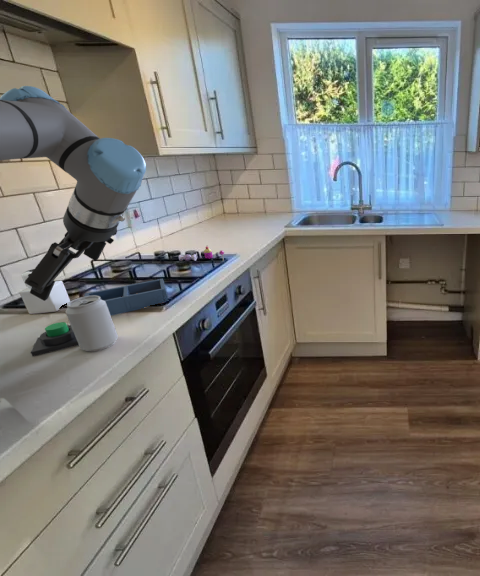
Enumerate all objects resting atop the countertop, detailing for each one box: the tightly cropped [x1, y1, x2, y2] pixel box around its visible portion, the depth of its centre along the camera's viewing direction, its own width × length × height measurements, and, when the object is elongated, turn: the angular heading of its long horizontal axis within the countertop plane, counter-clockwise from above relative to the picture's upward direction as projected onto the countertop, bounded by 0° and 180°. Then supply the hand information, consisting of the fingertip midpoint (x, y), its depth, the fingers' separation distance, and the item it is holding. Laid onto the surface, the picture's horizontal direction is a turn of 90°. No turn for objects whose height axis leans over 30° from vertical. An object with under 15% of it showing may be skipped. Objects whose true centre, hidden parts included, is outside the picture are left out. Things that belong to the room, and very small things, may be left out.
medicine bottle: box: [18, 268, 71, 315], centre depth 105 cm, size 7×7×12 cm
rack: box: [83, 278, 170, 317], centre depth 107 cm, size 20×10×5 cm, turn 123°
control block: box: [30, 324, 79, 357], centre depth 88 cm, size 10×8×3 cm
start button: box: [44, 321, 69, 337], centre depth 87 cm, size 4×4×2 cm
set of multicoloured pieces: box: [178, 246, 225, 262], centre depth 145 cm, size 18×8×6 cm, turn 98°
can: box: [64, 295, 119, 352], centre depth 85 cm, size 8×8×12 cm
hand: (66, 274), depth 76 cm, fingers open, 13 cm apart
